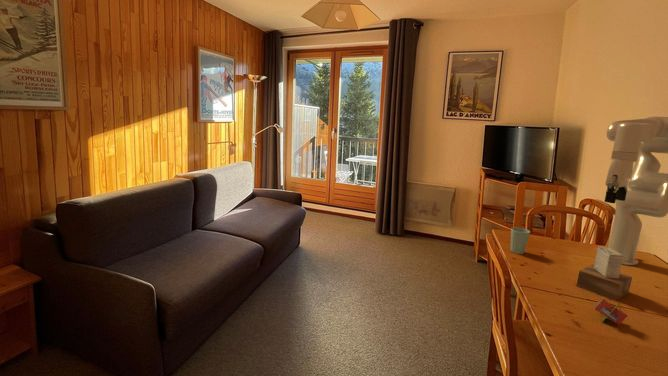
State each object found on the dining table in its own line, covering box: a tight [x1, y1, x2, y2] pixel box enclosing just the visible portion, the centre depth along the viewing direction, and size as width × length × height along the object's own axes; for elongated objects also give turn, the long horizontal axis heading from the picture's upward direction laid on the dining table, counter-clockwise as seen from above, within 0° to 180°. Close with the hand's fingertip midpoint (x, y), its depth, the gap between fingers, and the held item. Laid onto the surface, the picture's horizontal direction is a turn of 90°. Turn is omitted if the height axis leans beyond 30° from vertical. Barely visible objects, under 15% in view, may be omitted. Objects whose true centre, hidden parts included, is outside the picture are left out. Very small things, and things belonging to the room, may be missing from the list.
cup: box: [510, 227, 531, 255], centre depth 160 cm, size 8×8×10 cm
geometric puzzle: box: [594, 298, 629, 326], centre depth 105 cm, size 7×7×8 cm
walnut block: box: [576, 264, 633, 302], centre depth 126 cm, size 12×12×6 cm
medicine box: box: [593, 246, 623, 279], centre depth 125 cm, size 8×4×9 cm, turn 169°
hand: (614, 201), depth 133 cm, fingers open, 9 cm apart
